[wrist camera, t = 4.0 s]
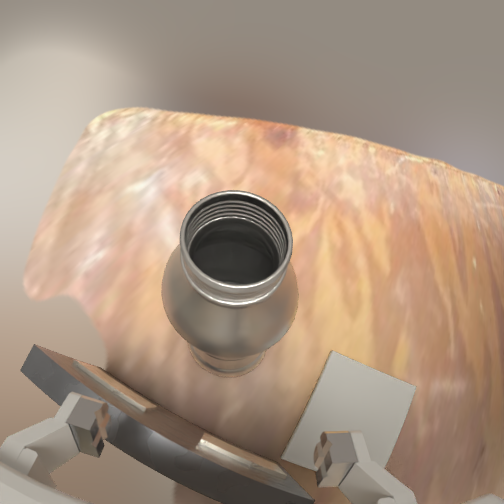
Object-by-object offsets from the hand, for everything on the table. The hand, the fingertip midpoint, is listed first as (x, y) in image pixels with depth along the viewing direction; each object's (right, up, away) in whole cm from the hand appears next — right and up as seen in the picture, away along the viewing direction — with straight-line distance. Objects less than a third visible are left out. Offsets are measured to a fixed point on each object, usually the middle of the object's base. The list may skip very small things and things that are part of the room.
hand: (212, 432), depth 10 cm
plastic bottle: (-1, -2, +18) cm, 18 cm away
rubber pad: (+11, -9, +15) cm, 21 cm away
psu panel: (-5, -9, +14) cm, 17 cm away
